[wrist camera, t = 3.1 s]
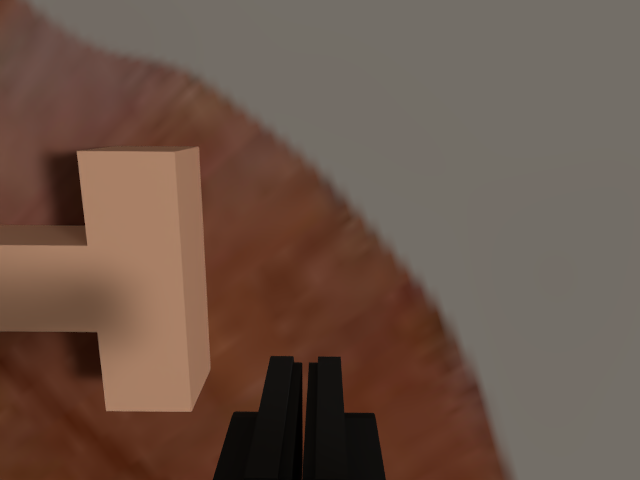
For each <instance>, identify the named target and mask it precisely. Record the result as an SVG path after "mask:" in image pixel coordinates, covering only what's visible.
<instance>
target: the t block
mask: <svg viewBox="0 0 640 480" xmlns="http://www.w3.org/2000/svg"><path fill="white" fill-rule="evenodd" d="M77 158H78V167H79V175H80V184H81V193H82V202H83V211H84V219H85V226H68V225H0V331H28V332H97V334H98V343H99V352H100V361H101V369H102V378H103V387H104V396H105V405H106V411H172V412H192V409H193V407H194V405H195V403H196V401H197V398H198V396H199V394H200V392H201V389H202V387H203V385H204V383H205V380H206V378H207V376H208V374H209V371H210V369H211V368H210V349H209V330H208V311H207V292H206V273H205V254H204V235H203V216H202V197H201V178H200V159H199V147H196V146H113V147H105V148H97V149H89V150H81V151H77Z"/></svg>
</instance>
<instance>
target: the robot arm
mask: <svg viewBox="0 0 640 480" xmlns="http://www.w3.org/2000/svg"><path fill="white" fill-rule="evenodd" d="M302 464H303V479H302ZM213 480H386V478H385V472H384V466H383V460H382V454H381V448H380V442H379V436H378V430H377V424H376V418H375V414H374V413H344V402H343V387H342V372H341V357H318V363H309V373H308V390H307V407H306V424H305V441H304V457H303V434H302V363H299V362H294V357H293V356H271V357H270V361H269V366H268V370H267V375H266V380H265V384H264V389H263V393H262V398H261V403H260V407H259V412H234V413H233V415H232V418H231V421H230V424H229V428H228V431H227V434H226V438H225V441H224V444H223V448H222V451H221V454H220V458H219V461H218V464H217V468H216V471H215V474H214V478H213Z"/></svg>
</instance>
